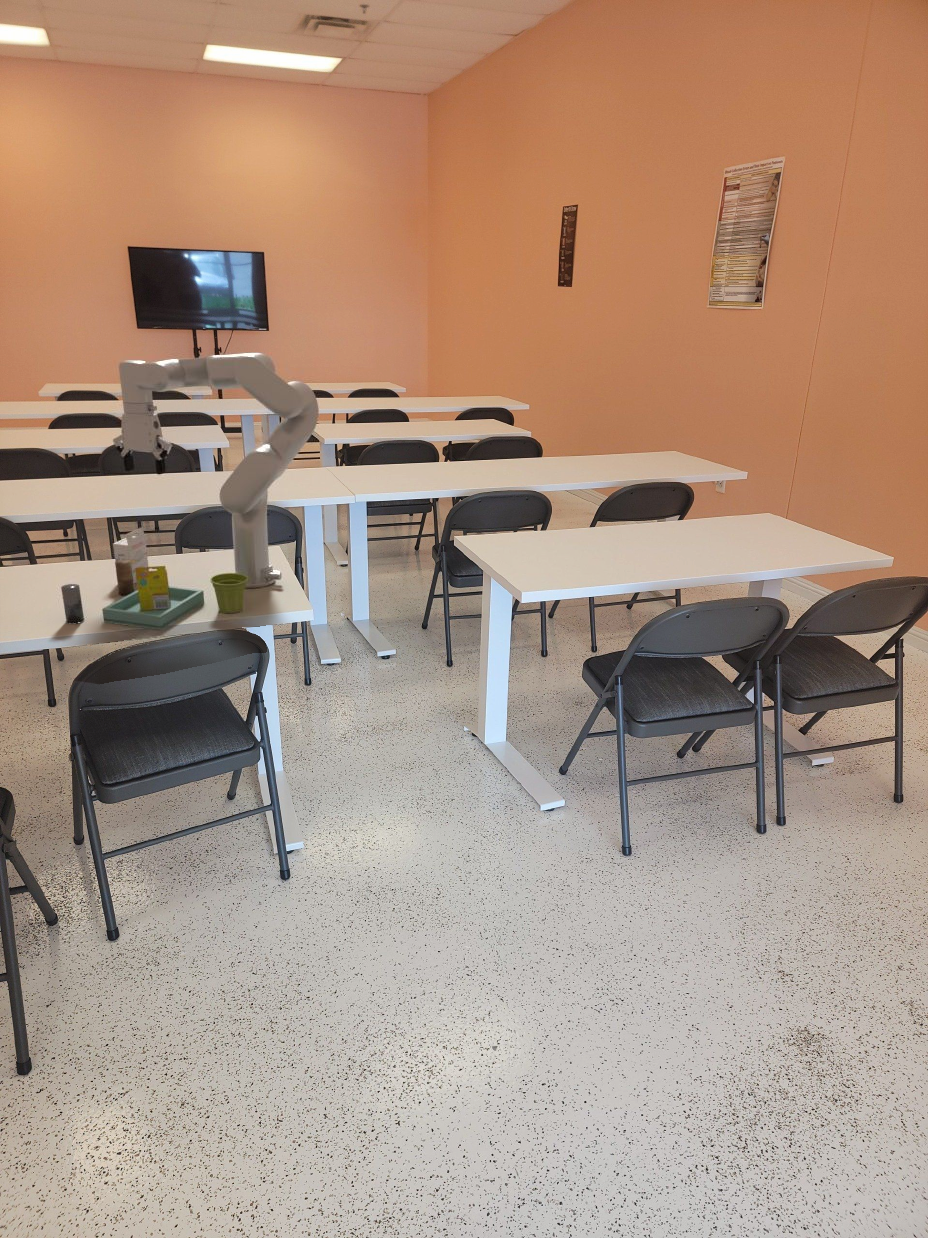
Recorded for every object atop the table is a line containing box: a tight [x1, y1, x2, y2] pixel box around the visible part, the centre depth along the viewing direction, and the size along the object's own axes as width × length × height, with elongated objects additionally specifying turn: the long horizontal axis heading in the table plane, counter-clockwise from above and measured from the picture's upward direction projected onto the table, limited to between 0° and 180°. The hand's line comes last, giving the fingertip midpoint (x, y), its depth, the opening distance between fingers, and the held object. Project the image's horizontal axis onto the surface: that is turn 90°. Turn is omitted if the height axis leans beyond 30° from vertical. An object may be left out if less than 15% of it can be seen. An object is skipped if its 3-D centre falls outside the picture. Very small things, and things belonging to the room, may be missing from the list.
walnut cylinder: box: [114, 560, 136, 597], centre depth 216 cm, size 4×4×9 cm
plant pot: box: [209, 572, 248, 614], centre depth 208 cm, size 9×9×9 cm
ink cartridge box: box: [112, 527, 150, 585], centre depth 225 cm, size 9×5×15 cm, turn 168°
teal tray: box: [101, 585, 205, 631], centre depth 205 cm, size 16×20×4 cm
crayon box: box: [135, 565, 171, 611], centre depth 203 cm, size 7×3×12 cm, turn 108°
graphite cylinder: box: [60, 583, 85, 624], centre depth 197 cm, size 4×4×9 cm
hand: (145, 471), depth 220 cm, fingers open, 9 cm apart
